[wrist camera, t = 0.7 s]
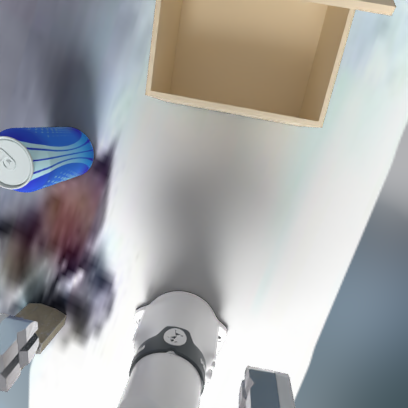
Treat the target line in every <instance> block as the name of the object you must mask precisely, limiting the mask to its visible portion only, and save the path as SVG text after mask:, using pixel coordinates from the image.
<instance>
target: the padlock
mask: <svg viewBox="0 0 408 408" xmlns="http://www.w3.org/2000/svg"><path fill="white" fill-rule="evenodd" d="M15 316H16V317H20V318H24V319H28V320H32V321H36V322H37V323H38V329H37V331H36V332H35V333H36V334H37V336H38V337H39V345H38V349H37V351H36V353H35V354H40V353H41V352H42V351H43V350H44V349H45V347H46V346H47V345H48V344H49V343H50V341H51V340H52V339H53V338H54V336H55V335H56V334H57V333H58V332H59V330H60V329H61V328H62V327H63V326H64V324H65V320H66V315H65V314H63V313H62V312H60V311H59V310H57V309H55V308H52V307H49V306H46V305H43V304H38V303H29V304H28V305H27V306H26V307H24V308H23V309H22V310H21V311H20V312H19V313H18V314H17V315H15ZM22 368H23V367H22ZM22 368H21V370H22Z"/></svg>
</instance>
